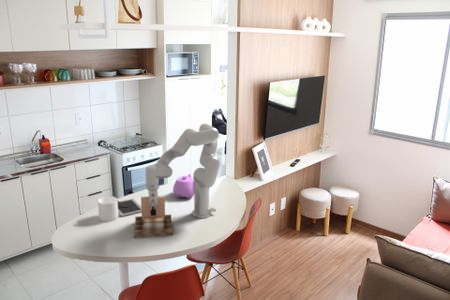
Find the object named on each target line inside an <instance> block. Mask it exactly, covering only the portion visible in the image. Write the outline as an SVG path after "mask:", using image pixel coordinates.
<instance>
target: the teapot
mask: <svg viewBox="0 0 450 300" xmlns="http://www.w3.org/2000/svg"><path fill="white" fill-rule="evenodd" d="M172 192H173V194H174V195H175V196H176V198H177V199H179V198H186V199H187V200H189V199H191V197H194V179H193V177H192V174H190V173H189V174H188V175H181V176H179V177H178V178H176V180H175V182H174V184H173V188H172Z"/></svg>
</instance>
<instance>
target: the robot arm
mask: <svg viewBox="0 0 450 300" xmlns="http://www.w3.org/2000/svg"><path fill="white" fill-rule="evenodd" d="M219 136H220V133H219V131H218V129H217V128H216V127H214V126H212V125H210V124H208V123H202V124H201V125H199V128H198V131H196V130H195V129H193V128H187V129H185V130H184V131H183V132H182V134H181V135H180V136H179V138H178V139H177V140H176V142H175V143H174V144H173V146H172V147H171V148H169V149H168V150H166V151H165V152H164V153H163V154H162V155H161V156H160V157H159V159H158V160H157V162H156V163H155V165H154V164H152V165H150V164H149V165H148V166H146V167H145V189H146V190H147V191H148V197H149V204H150V206H151V209H150V210H151V216H154V215H156V209H155V207H154V206H155V205H158V196H159V194H158V190H159V188H160V183H159V182H160V181H159V180H160V179H168V178H170V177H171V176H172V175H173V169H172V167H170V164H171V162H172V161H173V160H175V159H176V158H179V157H183V156H185V155H186V153H187V151H189V149H190V148H191V147H192V146H194V147H198V146H202V150H201V153H200V157H199V164H200V165H201V166H202V167H198V168H195V170H194V172H193V174H192V175H193V177H192V178H193V179H194V195H193V197H194V200H193V201H194V202H193V203H194V204H193V205H194V206H193V208H194V209H193V210H192V211H191V215H192V216H193V217H194V218H198V219H205V218H209V217H210V216H211V215H212V212H213V213H214V212H217V208H214V207H213V206H212V207H210V188H211V187H213V186H214V184H215V183H216V180H217V177H218V174H219V170H220V166H221V163H220V160H219V158H218V157H217V156H216V152H217V148H218V139H219Z"/></svg>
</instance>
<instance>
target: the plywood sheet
mask: <svg viewBox="0 0 450 300" xmlns="http://www.w3.org/2000/svg"><path fill="white" fill-rule="evenodd" d="M165 201H166V199H165V195H158V205H155V206H154V207H155V209H156V215H154V216H151V210H150V209H151V206H150V204H149V196H141V197H140V206H141V210H142V213H141V216H142V220H143V219H148V218H163V219H165V215H166V202H165Z"/></svg>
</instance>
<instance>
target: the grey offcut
mask: <svg viewBox="0 0 450 300" xmlns="http://www.w3.org/2000/svg"><path fill="white" fill-rule="evenodd" d="M151 229H164V223H143V230H151Z"/></svg>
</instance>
